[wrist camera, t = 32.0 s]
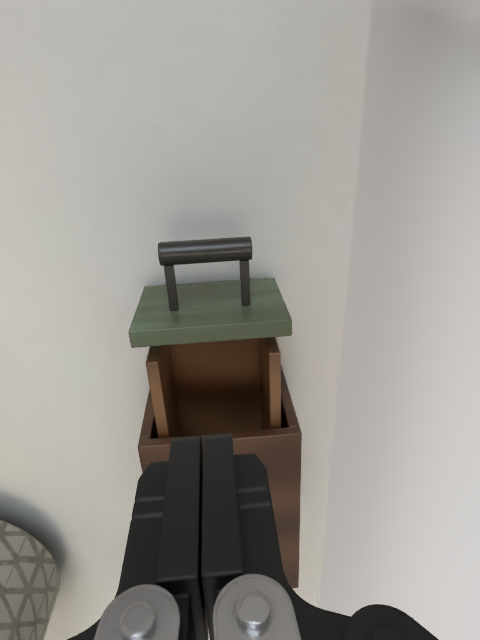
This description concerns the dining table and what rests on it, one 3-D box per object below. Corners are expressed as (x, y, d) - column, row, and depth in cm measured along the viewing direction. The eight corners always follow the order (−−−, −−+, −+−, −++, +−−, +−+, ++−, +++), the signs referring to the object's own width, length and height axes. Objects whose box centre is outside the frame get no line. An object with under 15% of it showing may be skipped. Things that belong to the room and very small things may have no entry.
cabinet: (152, 372, 39) (137, 447, 30) (280, 362, 39) (301, 433, 30) (174, 510, 46) (167, 601, 38) (281, 500, 47) (298, 587, 38)
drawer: (135, 227, 32) (115, 259, 25) (273, 218, 32) (292, 247, 25) (169, 446, 41) (161, 514, 34) (276, 437, 42) (290, 502, 35)
